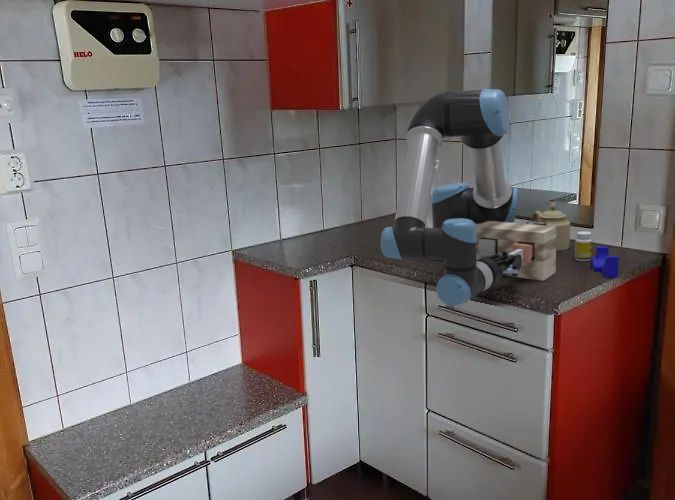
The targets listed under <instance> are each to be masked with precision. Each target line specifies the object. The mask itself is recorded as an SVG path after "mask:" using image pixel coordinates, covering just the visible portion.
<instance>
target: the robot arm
mask: <svg viewBox="0 0 675 500" xmlns="http://www.w3.org/2000/svg"><path fill="white" fill-rule="evenodd" d="M509 112H510V111H509V103H508V99H507V96H506V94H505V92H504V91H503V90H501V89H498V88H497V89H493V88H492V89H491V88H483V89H473V90H471V89H470V90H458V91H457V90H456V91H443V92H439V93H436V94H434V95H433V96H431V97H429V98H428V99H426V101H424V102H423V103H422V104H421V105H420V106H419V107H418V109H417V110H416V111H415V113H414V114H413V116H412V118H411V120H410V121H409V123H408V127H407V131H406V132H407V133H406V141H407V143H408V148H407V153H406V159H405V163H404V170H403V175H402V179H401V183H400V190H399V197H398V202H397V205H396V206H397V207H396V212H395V217H394V224H393V226H387V227H384V228H383V231H382V232H381V235H380V247H381V248H380V250H381V253H382V254H383V256H384V257H385V258H388V259H396V260H428V261H429V260H430V261H442V260H443V275H442V276H441V277H440V278H439V280H438V281H437V283H436V285H435V286H436V287H435V290H436V296H437V297H438V299H439V300H440V301H441V302H442V303H443V304H445V305H446V306H449V307H457V306H460V305H462V304H466V303H467V302H468V301H470V300H472V298H474V297H476V296H478V295H480V294H482V293H483V292H485V291H486V290H488V289H491V288H492V287H494V286H495V285H497V283H499V281H500V280H501V278H502V277H505V276H506V275H507V273H510V275H513V276H518V271H519V269H520V268H521V265H522V259H523V249H517V250H515V251H513V252H511V253H509V254H507V252H502V255H501V256H499V254H496V255H492V256H489V257H486V258H480V259H478V260H476V242H477V239H476V228H475V226H476V225H479V224H481V223H484V222H486V221H496V222H508V223H515V219H516V211H517V202H518V201H517V200H518V191H519V190H518V188H517V187H514V186H511V183H510V182H509V181H508V180H507V179H506V177H505V169H504V162H503V160H504V159H503V154H502V148H501V147H502V146H501V140H502V139H503V137H504V135H506V134H507V133H508V132H509V130H510V113H509ZM448 137H449V138H455V137H456V138H457V137H458V138H459V137H460V140H461V142H462V143H463V145H465V146H466V147H467V148H468V153H469V158H470V163H471V167H472V172H473V178H474V183H475V185H474V187H470V185H469V183H468V182H456V183H455V182H454V183H449V184H445V185H441V186H440V185H439V186H440V187H437V188H435V189H434V190H433V192H432V218H433V228H425V225H426V219H427V213H428V207H429V200H430V194H431V188H432V182H433V176H434V170H435V166H436V165H437V164H436V163H437V161H436V160H437V155H438V151H439V148H440V147H442V145H443V143H444V138H448Z"/></svg>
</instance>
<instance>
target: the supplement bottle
mask: <svg viewBox="0 0 675 500" xmlns="http://www.w3.org/2000/svg"><path fill="white" fill-rule="evenodd" d="M576 237H577V238H576V239H575V246H574V247H575V250H574V251H575V252H574V259H575V260H576V261H577V262H590V258H591V257H593V240H592V232H590V231H577V232H576Z"/></svg>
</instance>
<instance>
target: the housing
mask: <svg viewBox="0 0 675 500" xmlns="http://www.w3.org/2000/svg"><path fill="white" fill-rule="evenodd" d="M475 228H476V239H477V242H476V260H478V259H480V258H486V257H488V256H480V255H479V239H487V238H492V239H498V252H497V253H496V254H499V256H501V255H502V252H507V254H509V253H511V252H513V244H514V243H516V244H521V243H523V242H531V243H535V256H534V257H533V258H531V262H530V263H525V262H522V265H521V268H520V269H519V271H518V276H513V275H510V273H507V275H506V276H507V277H513V278H520V279H529V280H535V281H542V282H544V281H545V280H547V279H548V278H549V277H552V275H555V274H556V269H557V267H556V266H557V251H556V229H557V227H556V226H544V225H532V224H527V223H518V222H513V223H508V222H496V221H486V222H484V223H481V224H475Z"/></svg>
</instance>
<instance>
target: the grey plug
mask: <svg viewBox="0 0 675 500" xmlns="http://www.w3.org/2000/svg"><path fill="white" fill-rule="evenodd" d="M497 252H498V239H492V238H487V239H479V255H480V256H488V257H489V256H492V255H496V253H497Z"/></svg>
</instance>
